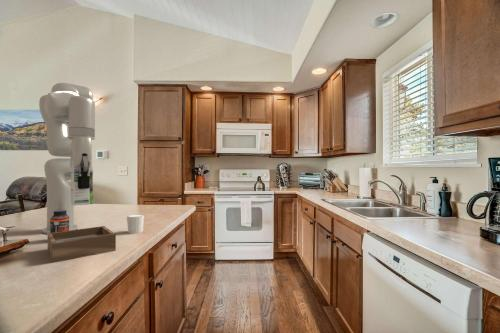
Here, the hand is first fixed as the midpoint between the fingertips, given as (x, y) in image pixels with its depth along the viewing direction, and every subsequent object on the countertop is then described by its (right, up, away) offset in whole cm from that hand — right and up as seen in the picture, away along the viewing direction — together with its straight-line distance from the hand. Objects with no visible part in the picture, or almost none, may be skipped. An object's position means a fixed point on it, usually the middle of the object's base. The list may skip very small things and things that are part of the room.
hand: (81, 187), depth 88 cm
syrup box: (0, -6, 0) cm, 6 cm away
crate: (0, -21, 0) cm, 21 cm away
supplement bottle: (-16, -21, +12) cm, 30 cm away
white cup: (+7, -21, +25) cm, 34 cm away
